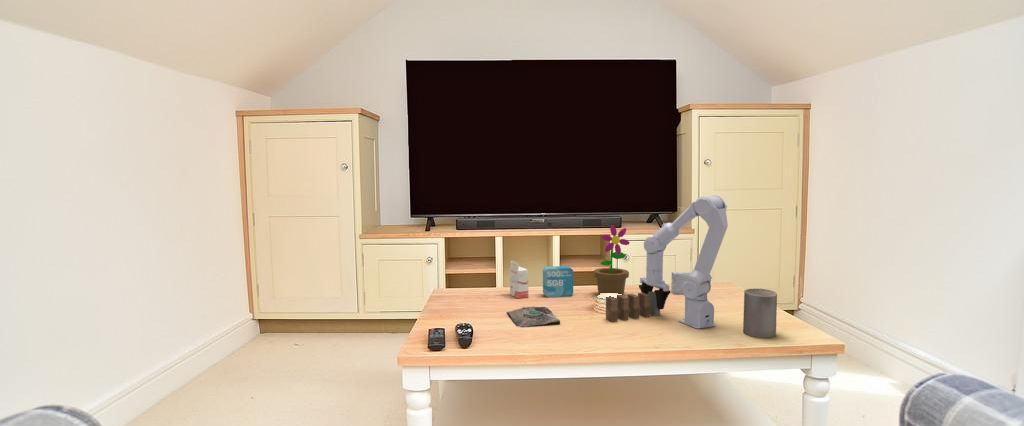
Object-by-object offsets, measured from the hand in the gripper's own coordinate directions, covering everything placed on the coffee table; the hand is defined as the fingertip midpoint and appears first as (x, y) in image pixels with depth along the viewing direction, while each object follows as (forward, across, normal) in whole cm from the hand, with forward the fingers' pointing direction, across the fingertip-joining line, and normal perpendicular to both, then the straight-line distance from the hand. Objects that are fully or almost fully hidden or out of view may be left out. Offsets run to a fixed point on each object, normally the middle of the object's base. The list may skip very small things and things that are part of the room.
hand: (653, 306), depth 198 cm
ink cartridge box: (+3, +45, +34) cm, 56 cm away
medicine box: (+3, +21, -30) cm, 37 cm away
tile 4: (+3, 0, +14) cm, 14 cm away
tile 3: (+3, 0, +9) cm, 9 cm away
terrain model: (+4, +14, +42) cm, 45 cm away
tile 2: (+3, 0, +4) cm, 5 cm away
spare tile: (+3, 0, 0) cm, 3 cm away
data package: (+3, +39, +19) cm, 43 cm away
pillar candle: (+3, -32, -17) cm, 36 cm away
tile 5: (+3, 0, +18) cm, 18 cm away
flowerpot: (+3, +30, -1) cm, 30 cm away
